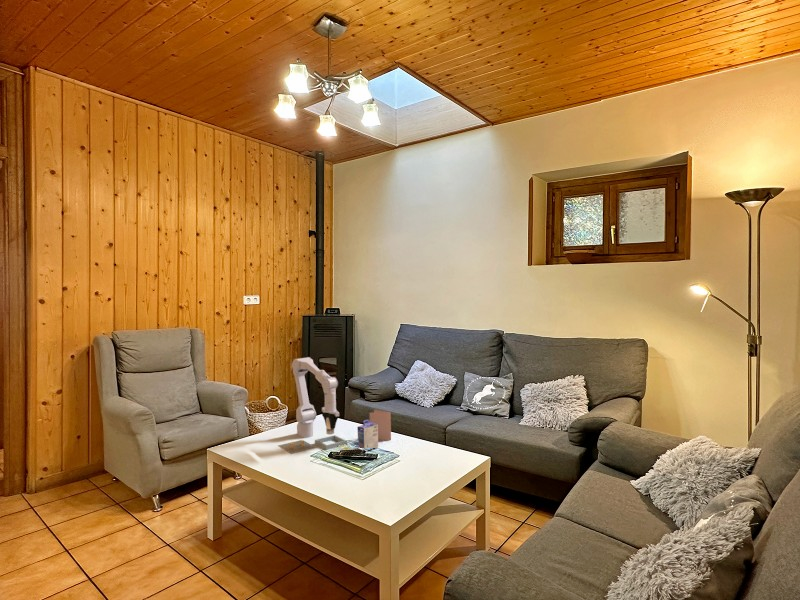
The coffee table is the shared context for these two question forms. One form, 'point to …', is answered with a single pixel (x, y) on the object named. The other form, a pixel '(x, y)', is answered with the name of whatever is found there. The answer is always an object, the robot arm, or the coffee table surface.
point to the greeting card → (382, 423)
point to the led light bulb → (328, 427)
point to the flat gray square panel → (297, 446)
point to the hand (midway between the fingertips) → (330, 427)
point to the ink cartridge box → (368, 435)
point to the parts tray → (334, 437)
